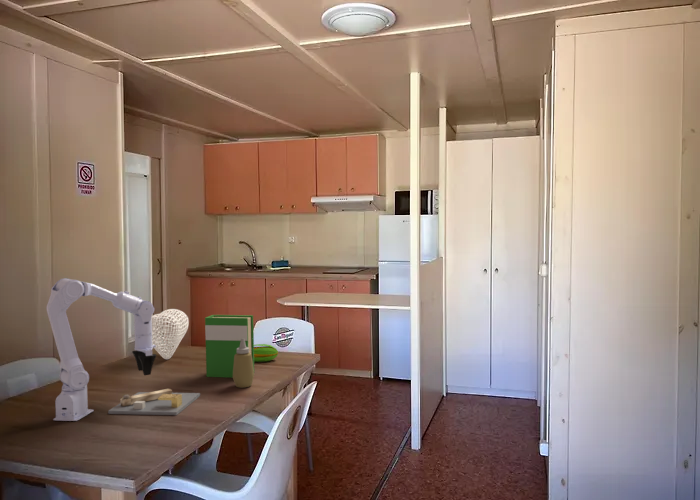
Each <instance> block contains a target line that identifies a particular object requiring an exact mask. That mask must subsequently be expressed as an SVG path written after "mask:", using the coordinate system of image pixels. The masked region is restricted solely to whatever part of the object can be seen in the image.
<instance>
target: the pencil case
mask: <svg viewBox="0 0 700 500" xmlns="http://www.w3.org/2000/svg"><path fill="white" fill-rule="evenodd" d="M278 355H279V350H278V349H277V348H276V347H275V346H273V345H271V344H266V343H259V344H258V343H257V344H254V363H259V362H260V363H261V362H262V363H263V362H270V361H273V360H275V359H276V358H277V357H278Z"/></svg>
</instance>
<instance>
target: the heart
mask: <svg viewBox="0 0 700 500" xmlns="http://www.w3.org/2000/svg"><path fill="white" fill-rule="evenodd" d="M167 323H168V324H167ZM189 323H190V320H189V316H188V315H187V314H186V313H185V312H184V311H182V310H180V309H177V308H169V309H166V310H162V311H161V312H160V313H155V314H152V345H156V347H155V348H153V349H154V350H155V351H156V352H157V353H158V354H159V355H160V357H162V358H163V359H164V360H170V359H171V358H172V357H173V355H174V354H175V352H176V350H177V349H178V347H179V345H180V343H181V341H182V340H183V338H184V337H185V335H186V333H187V332H188V329H189V325H190V324H189Z"/></svg>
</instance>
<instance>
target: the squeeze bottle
mask: <svg viewBox="0 0 700 500" xmlns="http://www.w3.org/2000/svg"><path fill="white" fill-rule="evenodd" d="M254 378H255V368H254V369H253V361H252V354H250V353H249V348H248V347H246V344H245V340H244V338H242V339H241V342H240V347H239V348H237V354H235V356H234V366H233V378H232V380H233V382H234V384H235V387H236V388H241V389H242V388H249V387H251V386H252V385H253V380H254Z"/></svg>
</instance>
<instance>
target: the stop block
mask: <svg viewBox="0 0 700 500" xmlns="http://www.w3.org/2000/svg"><path fill="white" fill-rule="evenodd" d="M143 408H145V401H136V402H134V409H143Z"/></svg>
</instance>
